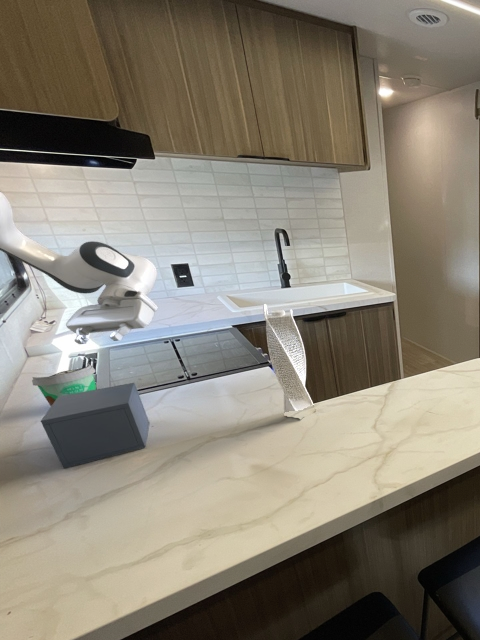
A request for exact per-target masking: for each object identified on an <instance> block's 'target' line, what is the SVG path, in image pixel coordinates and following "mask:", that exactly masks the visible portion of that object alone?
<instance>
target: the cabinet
mask: <svg viewBox="0 0 480 640" xmlns="http://www.w3.org/2000/svg"><path fill="white" fill-rule="evenodd" d="M40 423H41V425H42V427H43V429H44V432H45V433H46V435H47V438H48V440H49V442H50V445H51V446H52V448H53V450H54V453H55V454H56V456H57V458H58V460H59V462H60V465H61V466H62V469H67V468H71V467H75V466H79V465H84V464H87V463H91V462H95V461H99V460H103V459H107V458H110V457H114V456H115V457H116V456H119V455H122V454H127V453H130V452H134V451H138V450H141V449H142V450H143V449H146V447H147V442H148V441H147V440H148V435H149V427H150V420H149V418H148V415H147V413H146V410H145V407H144V404H143V402H142V399H141V396H140V394H139V391H138V389H137V385H136V383H135V382H129V383H124V384H119V385H114V386H109V387H108V386H107V387H102V388H97V389H96V390H91V391H86V392H80V393H75V394H69V395H64V396H59V397H58V398H57V399H56V400H55V402H54V403H53V405H52V406H50V407H49V408H48V410H47V412H46V413H45V414H44V415H43V416H42V418H41V419H40Z"/></svg>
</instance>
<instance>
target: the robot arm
mask: <svg viewBox="0 0 480 640" xmlns="http://www.w3.org/2000/svg"><path fill="white" fill-rule="evenodd" d="M0 251H1V252H2V253H5V254H7V255H8V256H10V257H12V258H14V259H16V260H18V261H20V262H22V263H24V264H25V265H27V266H29V267H31V268H33V269H36V270H37V271H39V272H40V273H43V274H45V275H46V276H48V277H49V278H51V279H52V280H53V281H54V282H56V283H57V284H58V285H60V286H61V287H62V288H64V289H66V290H68V291H71V292H74V293H77V294H93V293H96V292H97V291H99V290H101V288H102V287H103V286H105V287H104V289H102V292H101V293H100V295H99V296H98V298H97V304H89V305H86V306H81V307H79V308H78V309H77V310H76V311H75V312H74V313H73V314H72V315H71V317H70V318H69V319H68V320H67V321H66V323H65V326H66V328H67V329H68V330H70V331H71V332H73V333H74V334H76V337H75V338H74V342H75V343H76V344H78V345H85V344H87V342H89V338H87V336H89V335H90V334H94V333H95V334H96V333H105V332H106V333H107V332H111V334H110V336H109V338H110V340H112V341H114V342H119V341H120V342H121V341H122V340H123V338H124V336H126V335H128V334H129V333H130V332H131V331H132V330H136V329H138V330H139V329H144V328H147V326H149V325H150V324H151V322H152V320H153V319H154V316H155V312H157V310H158V309H159V307H158V305H157V304H156V303H155V301H153V300H152V299H151V298H150V297H148V295H149V294H150V293H151V291H152V290H153V287H154V286H155V283H156V281H157V278H158V270H157V268H156V266H155V264H154V263H153V262H152V261H150V260H149V259H147V258H146V257H144V256H143V255H138V254H128V253H125V252H122V251H119V250H117V249H115V248H114V247H112V246H111V245H109V244H107V243H103V242H101V241H92V240H91V241H86V242H84V243H82V244H81V245H80V246H78V247H76V248H75V249H73V251H72V252H71V253H69V254H68V255H63V254H59V253H56V252H55V251H53V250H51V249H50V248H48V247H46V246H44V245H43V244H40V243H39V242H37V241H36V240H34V239H32V238H30V237H28V236H27V235H26V234H23V233H22V232H21V231H20V230H19V229H18V227H17V226H16V223H15V221H14V213H13V207H12V204H11V203H10V201H9V199H8V198H7V196H6V195H5V194H4V193H3V192H1V191H0Z"/></svg>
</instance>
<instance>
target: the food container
mask: <svg viewBox="0 0 480 640" xmlns="http://www.w3.org/2000/svg"><path fill="white" fill-rule="evenodd" d="M86 364H87V366H84V367H80V368H76V369H69V370H64V371H60V372H57V373H53V374H52V375H49V376H40V377H39V376H38V377H37V376H32V379H31V382H32V386H37V387H38V389H39V390H40V392H41V394H42V395H43V397H44V398H45V400H46V402H47V403H48V405H49V406H50V407H51V406H52V405H53V403H54V402H55V400H56V399H57V398H58V397H59V396H64V395H69V394H75V393H80V392H86V391H91V390H96V389H98V388H97V383H96V380H95V376H94V374H95V373H96V369H95V368H94V366H93V365H91V363H88V362H87V363H86Z"/></svg>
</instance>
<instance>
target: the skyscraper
mask: <svg viewBox="0 0 480 640" xmlns="http://www.w3.org/2000/svg"><path fill="white" fill-rule="evenodd" d="M262 312H263V313H262V314H263V319H264V321H265V325H266V326H265V329H266V342H267V350H268V355H269V359H270V362H271V365H272V370H273V371H274V374H275V377H276V379H277V381H278V383H279V386H280V387H281V389H282V391H283V414H284V413H285V412H289V411H295V412H296V411H298V410H303V409H304V408H307V407H308V406H311V405H314V406H315V404H314V402H313V400H312V398H311V395H310V394H309V392H308V390H307V388H306V381H307V357H306V350H305V346H304V342H303V339H302V336H301V333H300V331H299V328H298V326H297V323H296V321H295V319H294V316H293V313H294V311H293V309H292V308H290V309H289V311H285V310H284V309H276V310H272V311H270V313H269V309H268V305H267V304H266V303H263V306H262Z"/></svg>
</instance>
